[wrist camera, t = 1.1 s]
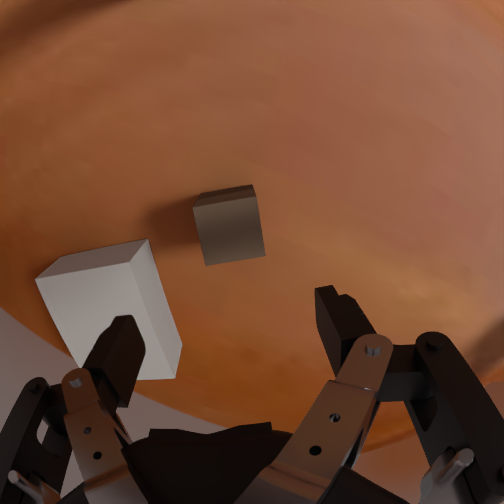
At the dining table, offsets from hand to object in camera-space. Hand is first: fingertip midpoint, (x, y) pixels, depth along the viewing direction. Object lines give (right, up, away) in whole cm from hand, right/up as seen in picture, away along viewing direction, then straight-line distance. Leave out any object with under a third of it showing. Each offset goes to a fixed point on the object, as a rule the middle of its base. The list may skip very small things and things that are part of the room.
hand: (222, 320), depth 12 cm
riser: (-14, -3, +20) cm, 25 cm away
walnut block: (-1, +7, +17) cm, 18 cm away
